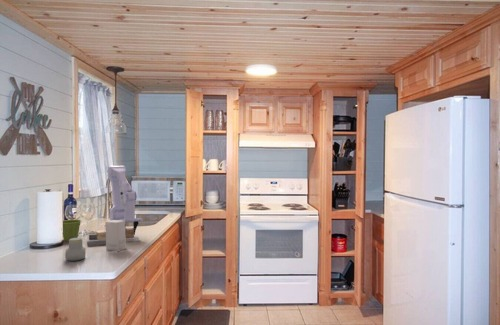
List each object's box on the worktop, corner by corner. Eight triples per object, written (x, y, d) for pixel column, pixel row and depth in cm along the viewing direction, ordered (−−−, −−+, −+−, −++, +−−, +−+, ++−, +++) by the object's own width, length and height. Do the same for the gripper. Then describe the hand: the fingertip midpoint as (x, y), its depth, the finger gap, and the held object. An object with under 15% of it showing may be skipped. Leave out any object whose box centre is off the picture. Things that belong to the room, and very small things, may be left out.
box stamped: (125, 236, 220) (125, 228, 220) (133, 236, 221) (133, 227, 221) (125, 238, 216) (125, 229, 215) (133, 237, 217) (133, 229, 217)
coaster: (118, 239, 222) (118, 238, 222) (137, 237, 226) (137, 236, 226) (120, 243, 212) (120, 242, 212) (140, 241, 216) (140, 240, 216)
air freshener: (84, 261, 175) (84, 240, 174) (64, 263, 172) (64, 242, 171) (85, 255, 185) (85, 236, 185) (67, 257, 182) (67, 237, 182)
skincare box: (126, 249, 199) (126, 220, 198) (117, 252, 192) (118, 222, 192) (113, 247, 201) (113, 219, 201) (104, 250, 195) (105, 221, 195)
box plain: (96, 239, 217) (96, 231, 217) (104, 238, 219) (104, 230, 219) (97, 241, 213) (97, 232, 213) (106, 240, 216) (106, 231, 215)
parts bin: (87, 240, 218) (87, 234, 218) (113, 238, 223) (113, 233, 223) (87, 247, 202) (87, 241, 202) (115, 244, 207) (115, 239, 207)
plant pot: (74, 237, 225) (74, 218, 225) (85, 239, 218) (85, 221, 218) (55, 240, 215) (55, 221, 215) (65, 243, 209) (65, 223, 208)
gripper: (117, 213, 212) (117, 236, 212) (143, 212, 218) (142, 235, 218) (116, 211, 218) (116, 234, 219) (141, 210, 224) (141, 232, 224)
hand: (129, 234), depth 219 cm, fingers closed on box stamped, 4 cm apart
